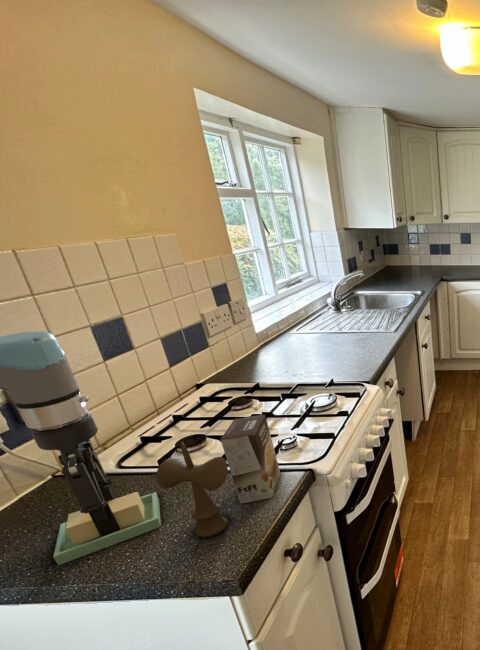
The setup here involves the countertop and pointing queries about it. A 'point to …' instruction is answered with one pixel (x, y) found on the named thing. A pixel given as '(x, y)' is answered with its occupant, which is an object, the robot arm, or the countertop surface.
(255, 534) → the countertop surface
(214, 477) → the kendama
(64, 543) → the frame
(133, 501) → the tan block
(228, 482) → the countertop surface
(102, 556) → the countertop surface
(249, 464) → the coffee box
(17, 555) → the countertop surface
